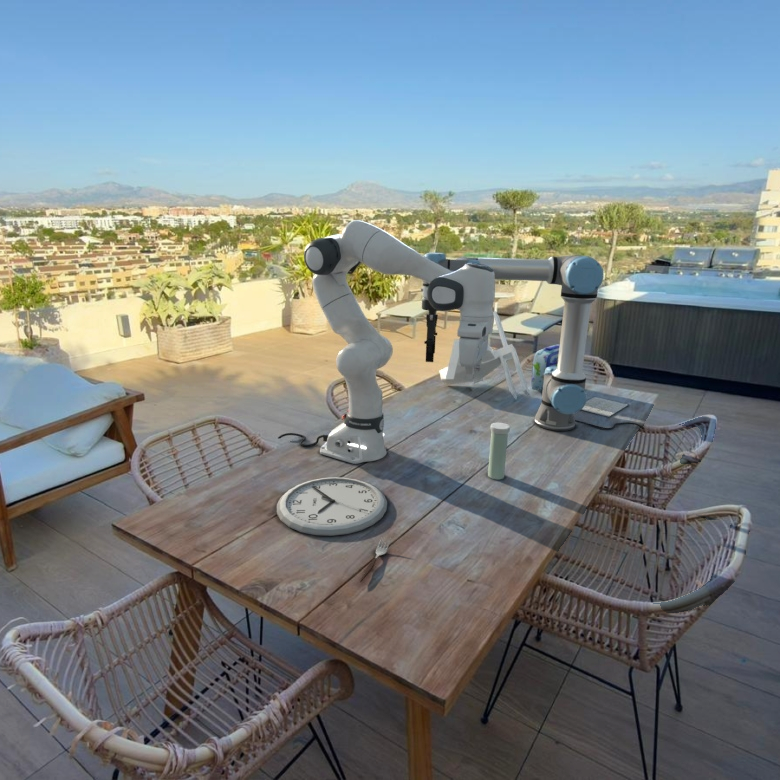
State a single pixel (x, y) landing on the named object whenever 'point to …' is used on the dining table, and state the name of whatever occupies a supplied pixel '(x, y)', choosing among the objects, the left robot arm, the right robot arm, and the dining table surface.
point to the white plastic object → (485, 364)
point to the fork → (379, 552)
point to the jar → (497, 455)
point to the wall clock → (331, 506)
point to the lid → (500, 428)
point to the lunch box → (543, 365)
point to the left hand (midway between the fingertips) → (473, 375)
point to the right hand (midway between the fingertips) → (430, 357)
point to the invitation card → (603, 406)
